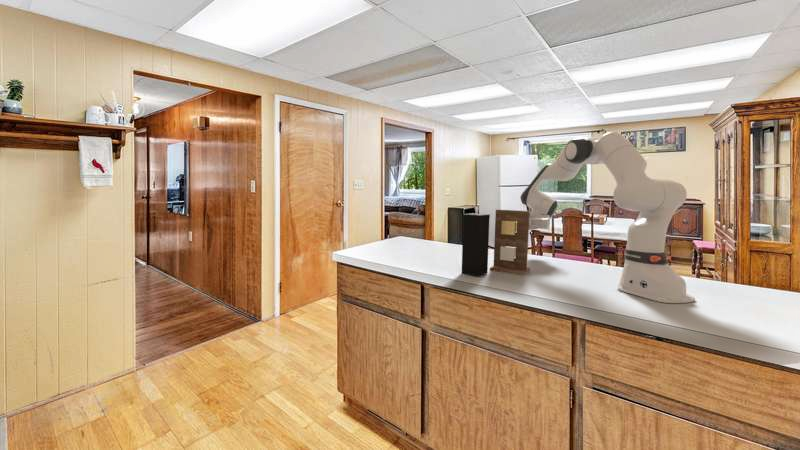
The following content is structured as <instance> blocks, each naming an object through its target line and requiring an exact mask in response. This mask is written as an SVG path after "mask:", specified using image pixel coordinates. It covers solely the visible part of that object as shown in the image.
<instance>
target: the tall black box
mask: <svg viewBox="0 0 800 450" xmlns="http://www.w3.org/2000/svg"><path fill="white" fill-rule="evenodd" d="M479 210H480V206H474V212H475V213H474V212H472V213H463V214H462V219H463V220H462V243H461V244H462V248H461V252H462V253H461V274H463V275H467V276H468V275H469V276H472V277H480V276H483V275H486V274H488V267H489V266H488V265H489V239H490V217H491V216H490V215H491V214H489V213H479Z"/></svg>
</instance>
